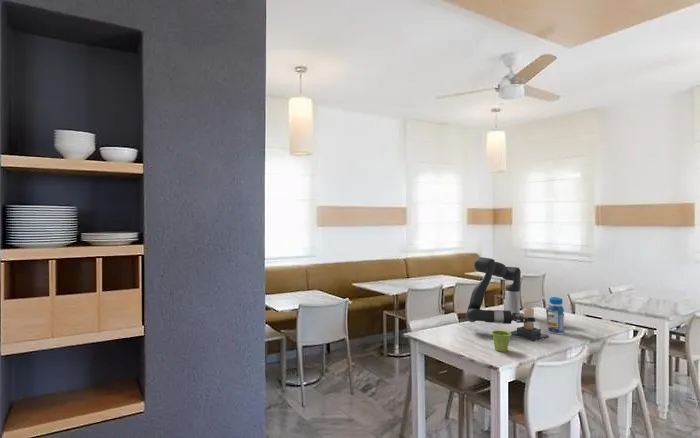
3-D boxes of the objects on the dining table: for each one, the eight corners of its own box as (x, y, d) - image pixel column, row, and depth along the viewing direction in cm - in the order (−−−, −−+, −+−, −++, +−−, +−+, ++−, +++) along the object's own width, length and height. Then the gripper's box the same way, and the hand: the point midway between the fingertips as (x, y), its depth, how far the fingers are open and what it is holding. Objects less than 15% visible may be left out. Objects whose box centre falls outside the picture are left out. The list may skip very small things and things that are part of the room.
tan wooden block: (521, 331, 230) (521, 308, 230) (527, 329, 233) (527, 307, 233) (530, 333, 226) (530, 310, 226) (535, 331, 229) (535, 308, 228)
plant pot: (506, 346, 210) (506, 330, 210) (514, 352, 200) (514, 335, 200) (488, 347, 210) (488, 330, 210) (495, 353, 200) (495, 335, 200)
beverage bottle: (566, 334, 230) (566, 299, 230) (550, 334, 232) (550, 299, 232) (561, 330, 239) (561, 297, 239) (546, 329, 240) (546, 296, 240)
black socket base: (508, 334, 232) (508, 327, 232) (523, 330, 240) (523, 323, 240) (534, 341, 219) (534, 333, 219) (549, 337, 226) (549, 329, 226)
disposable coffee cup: (565, 327, 245) (565, 307, 245) (549, 327, 245) (549, 307, 245) (557, 323, 255) (557, 304, 255) (542, 323, 255) (542, 304, 255)
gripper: (504, 313, 225) (536, 314, 222) (500, 307, 239) (530, 309, 236) (504, 326, 225) (536, 328, 222) (500, 320, 239) (530, 321, 236)
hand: (533, 318), depth 229 cm, fingers closed on tan wooden block, 5 cm apart
